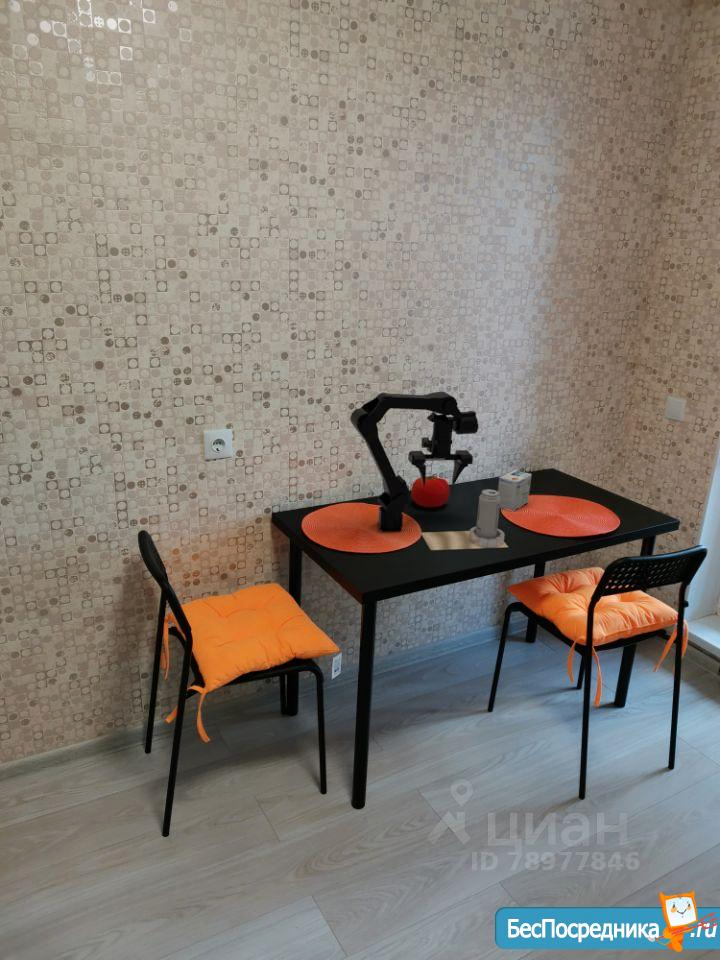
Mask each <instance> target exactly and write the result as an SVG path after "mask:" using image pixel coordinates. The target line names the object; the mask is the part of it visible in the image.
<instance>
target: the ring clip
mask: <svg viewBox="0 0 720 960" xmlns="http://www.w3.org/2000/svg"><path fill="white" fill-rule="evenodd" d="M469 531H470V532H469V540H470V542H471V543H473V544H475V545H477V546H480V547H486V548H485V549H496V548H495V547H499V546H501V545H502V544H503V542H505V532H504V531H503V530H501V529H499V528H498V527H497V536H496V538H483V537H480V536H477V535H476V526H473V527H471V528H470V529H469Z"/></svg>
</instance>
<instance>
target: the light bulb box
mask: <svg viewBox="0 0 720 960" xmlns="http://www.w3.org/2000/svg"><path fill="white" fill-rule="evenodd" d="M532 476H533V475H532V473H530V472H529V473H528V472H525V471H521V470H517V469H513V470H511V471H509V472H508V473H506V474H503V475H502V476H499V478H498V486H497V491H498V492H499V496H500V499H501V500H500V509H502V508H505V509H509V510H512V511H514V510H515V511H517V510H518V509H517V508H519V507H521V506H523V505H524V504H526V503H529V498H530V490H531V481H532ZM526 505H527V504H526ZM524 506H525V505H524ZM524 506H523V507H524ZM521 508H522V507H521ZM505 509H504V510H505ZM516 509H517V510H516ZM519 509H520V508H519ZM515 511H514V512H515Z"/></svg>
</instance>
